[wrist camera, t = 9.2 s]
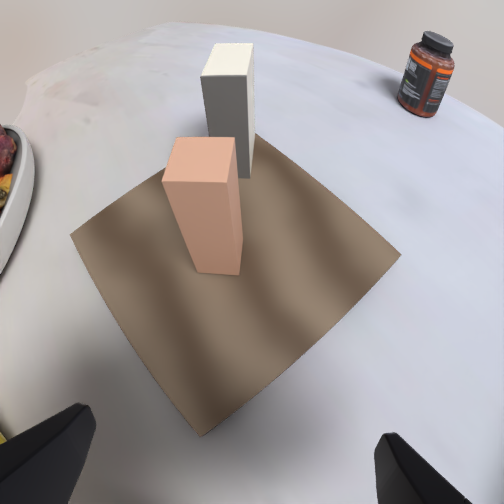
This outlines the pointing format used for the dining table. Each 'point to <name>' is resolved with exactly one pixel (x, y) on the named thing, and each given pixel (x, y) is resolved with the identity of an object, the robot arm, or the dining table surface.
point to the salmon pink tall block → (207, 201)
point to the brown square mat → (232, 284)
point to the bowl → (14, 186)
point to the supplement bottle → (426, 75)
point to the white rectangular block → (231, 99)
